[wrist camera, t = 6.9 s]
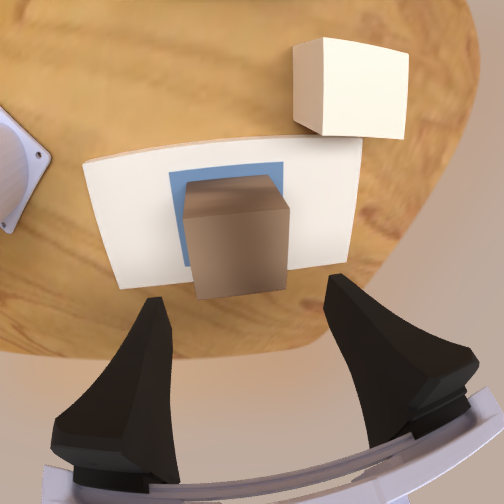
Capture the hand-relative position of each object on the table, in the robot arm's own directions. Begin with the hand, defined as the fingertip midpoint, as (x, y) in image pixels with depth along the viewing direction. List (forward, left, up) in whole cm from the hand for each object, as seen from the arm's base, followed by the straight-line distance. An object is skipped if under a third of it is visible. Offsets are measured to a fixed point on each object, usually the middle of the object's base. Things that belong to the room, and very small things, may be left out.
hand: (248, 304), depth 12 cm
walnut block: (0, 0, -8) cm, 8 cm away
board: (0, 0, -9) cm, 9 cm away
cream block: (-2, +11, -9) cm, 14 cm away
